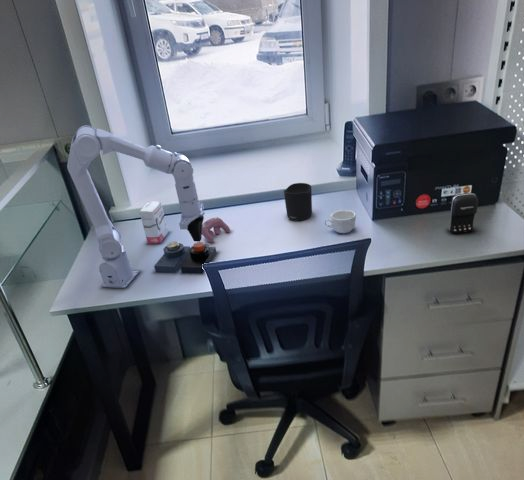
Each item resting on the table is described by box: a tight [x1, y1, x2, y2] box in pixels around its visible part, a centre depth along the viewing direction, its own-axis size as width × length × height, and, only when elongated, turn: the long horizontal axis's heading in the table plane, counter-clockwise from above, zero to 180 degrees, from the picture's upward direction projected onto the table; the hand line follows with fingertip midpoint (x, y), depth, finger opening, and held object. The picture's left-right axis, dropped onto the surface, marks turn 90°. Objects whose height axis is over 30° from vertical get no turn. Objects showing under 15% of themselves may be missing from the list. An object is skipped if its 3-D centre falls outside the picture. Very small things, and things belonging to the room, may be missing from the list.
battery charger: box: [448, 192, 479, 234], centre depth 149 cm, size 7×4×11 cm, turn 90°
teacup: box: [324, 209, 357, 234], centre depth 161 cm, size 10×8×5 cm
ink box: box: [139, 200, 169, 245], centre depth 172 cm, size 9×5×12 cm, turn 168°
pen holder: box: [283, 182, 313, 222], centre depth 172 cm, size 9×9×10 cm
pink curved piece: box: [202, 216, 231, 243], centre depth 170 cm, size 10×5×7 cm, turn 141°
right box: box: [179, 243, 218, 275], centre depth 157 cm, size 13×7×4 cm, turn 164°
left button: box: [166, 241, 179, 251], centre depth 159 cm, size 4×4×2 cm
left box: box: [153, 242, 191, 274], centre depth 159 cm, size 13×7×4 cm, turn 164°
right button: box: [192, 241, 205, 252], centre depth 157 cm, size 4×4×2 cm
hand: (197, 240), depth 155 cm, fingers closed
